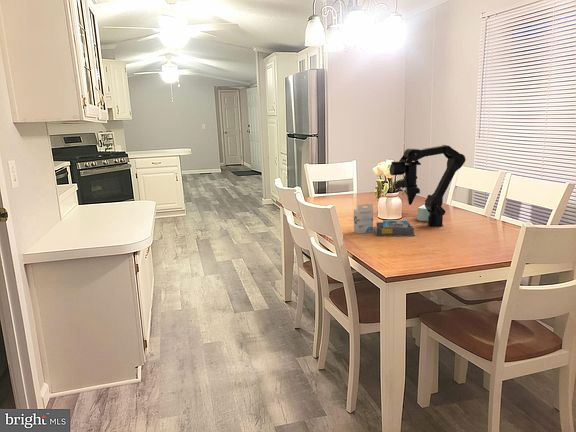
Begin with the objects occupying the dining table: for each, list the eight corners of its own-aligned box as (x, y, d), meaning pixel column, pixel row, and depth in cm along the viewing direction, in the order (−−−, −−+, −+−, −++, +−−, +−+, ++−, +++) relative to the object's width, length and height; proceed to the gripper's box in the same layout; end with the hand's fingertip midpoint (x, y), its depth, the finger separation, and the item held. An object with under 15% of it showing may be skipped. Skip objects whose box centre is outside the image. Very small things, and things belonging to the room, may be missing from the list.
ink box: (368, 230, 224) (369, 201, 221) (373, 232, 219) (373, 203, 216) (353, 231, 222) (353, 202, 219) (357, 234, 217) (357, 204, 214)
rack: (409, 228, 225) (410, 221, 224) (414, 236, 211) (415, 228, 210) (374, 228, 227) (374, 221, 226) (376, 235, 213) (376, 228, 212)
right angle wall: (439, 223, 235) (439, 210, 233) (417, 221, 242) (417, 207, 240) (446, 219, 244) (447, 206, 243) (425, 217, 251) (425, 204, 250)
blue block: (407, 232, 215) (407, 220, 214) (407, 233, 213) (408, 220, 212) (382, 232, 216) (382, 220, 215) (382, 233, 215) (382, 221, 214)
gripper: (391, 172, 231) (391, 201, 235) (396, 177, 213) (396, 208, 217) (413, 171, 230) (412, 201, 233) (420, 176, 212) (419, 208, 215)
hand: (409, 204), depth 225 cm, fingers closed
